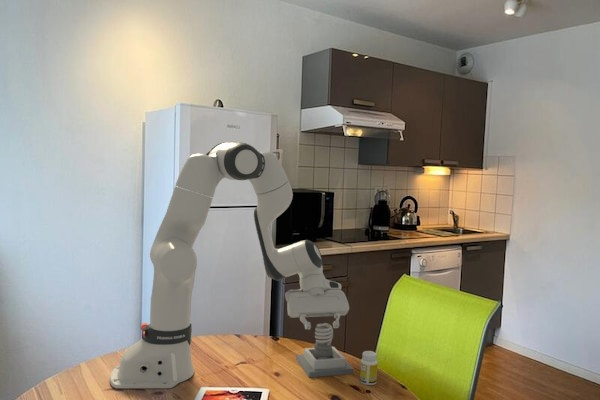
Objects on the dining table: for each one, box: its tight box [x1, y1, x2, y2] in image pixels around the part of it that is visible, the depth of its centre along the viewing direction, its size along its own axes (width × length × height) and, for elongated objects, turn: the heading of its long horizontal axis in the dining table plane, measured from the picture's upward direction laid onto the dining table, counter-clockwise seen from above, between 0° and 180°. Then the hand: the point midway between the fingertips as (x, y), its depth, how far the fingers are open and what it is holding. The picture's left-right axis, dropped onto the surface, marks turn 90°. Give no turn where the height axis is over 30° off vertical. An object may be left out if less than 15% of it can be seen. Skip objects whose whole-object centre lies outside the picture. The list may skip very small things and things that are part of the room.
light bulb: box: [314, 322, 334, 360], centre depth 139 cm, size 6×6×12 cm
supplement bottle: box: [359, 350, 379, 386], centre depth 130 cm, size 5×5×8 cm
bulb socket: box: [295, 346, 354, 378], centre depth 140 cm, size 14×13×4 cm
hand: (322, 327), depth 141 cm, fingers open, 8 cm apart
